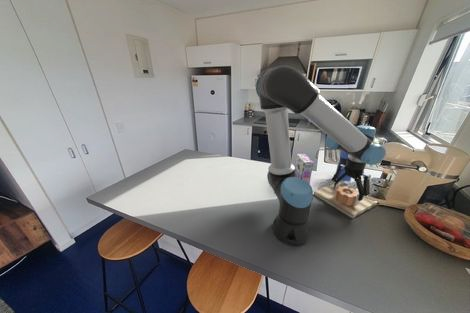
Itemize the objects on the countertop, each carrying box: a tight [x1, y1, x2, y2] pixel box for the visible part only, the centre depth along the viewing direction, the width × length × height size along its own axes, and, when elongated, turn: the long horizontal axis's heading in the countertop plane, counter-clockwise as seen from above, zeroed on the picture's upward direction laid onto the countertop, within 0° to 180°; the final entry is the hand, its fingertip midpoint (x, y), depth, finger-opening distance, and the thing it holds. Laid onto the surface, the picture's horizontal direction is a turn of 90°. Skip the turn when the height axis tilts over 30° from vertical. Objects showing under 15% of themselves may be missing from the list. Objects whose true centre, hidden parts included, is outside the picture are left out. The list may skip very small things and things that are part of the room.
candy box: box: [294, 153, 314, 185], centre depth 110 cm, size 14×6×16 cm, turn 179°
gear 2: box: [334, 186, 359, 206], centre depth 89 cm, size 10×10×5 cm
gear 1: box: [340, 180, 357, 190], centre depth 99 cm, size 10×10×5 cm
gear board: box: [313, 182, 378, 219], centre depth 95 cm, size 24×22×8 cm
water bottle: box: [335, 150, 352, 183], centre depth 111 cm, size 9×9×25 cm
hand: (345, 199), depth 90 cm, fingers closed on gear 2, 10 cm apart
